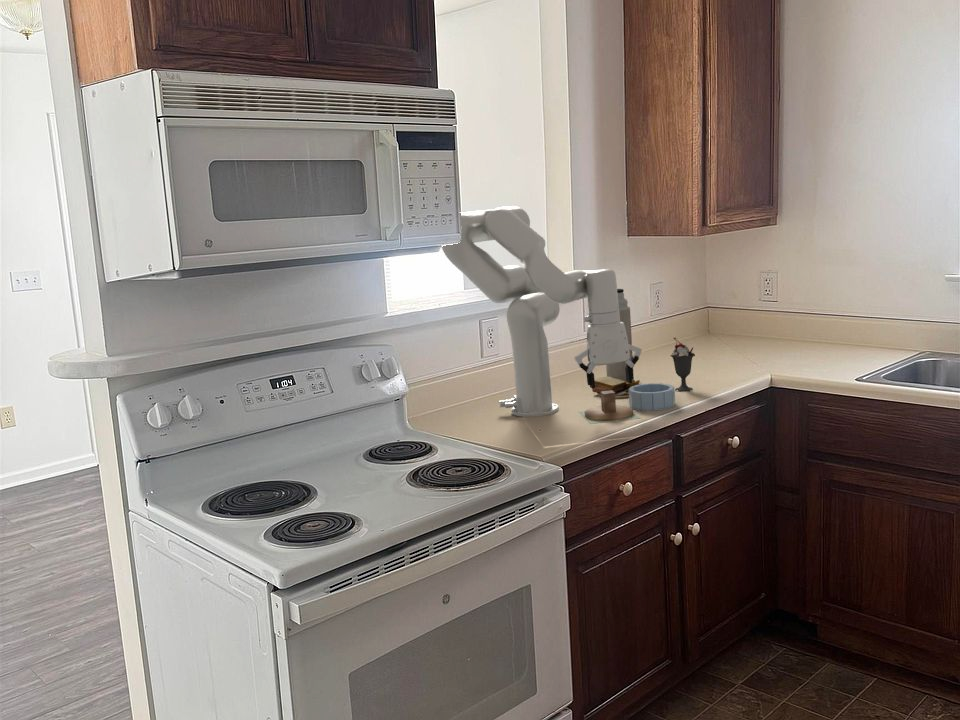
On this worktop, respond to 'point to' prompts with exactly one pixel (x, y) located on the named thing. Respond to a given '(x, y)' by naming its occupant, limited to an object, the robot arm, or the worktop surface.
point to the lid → (608, 409)
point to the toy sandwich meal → (613, 386)
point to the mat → (608, 421)
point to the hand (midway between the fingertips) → (610, 385)
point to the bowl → (651, 396)
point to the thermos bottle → (624, 311)
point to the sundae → (682, 364)
